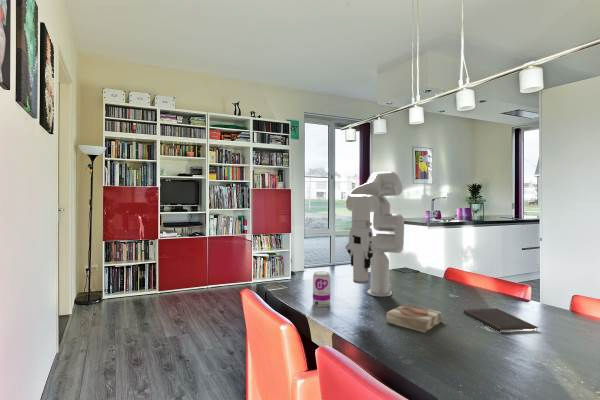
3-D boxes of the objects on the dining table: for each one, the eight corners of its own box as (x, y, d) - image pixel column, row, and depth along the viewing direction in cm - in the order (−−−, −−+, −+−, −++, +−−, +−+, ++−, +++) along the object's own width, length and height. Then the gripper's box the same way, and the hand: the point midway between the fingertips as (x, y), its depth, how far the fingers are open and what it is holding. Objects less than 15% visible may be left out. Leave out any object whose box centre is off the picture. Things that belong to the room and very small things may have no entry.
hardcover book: (496, 313, 159) (496, 308, 159) (537, 333, 137) (537, 327, 136) (463, 314, 157) (463, 309, 157) (499, 335, 134) (499, 329, 134)
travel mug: (351, 280, 155) (351, 234, 155) (366, 280, 155) (366, 234, 155) (353, 284, 149) (353, 236, 149) (369, 283, 149) (369, 235, 149)
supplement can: (329, 308, 164) (329, 275, 164) (311, 306, 165) (311, 274, 165) (331, 302, 172) (331, 271, 171) (314, 301, 173) (314, 270, 173)
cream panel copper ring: (404, 312, 157) (404, 303, 157) (441, 321, 146) (441, 311, 146) (386, 322, 145) (386, 311, 145) (424, 332, 135) (424, 321, 135)
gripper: (383, 225, 148) (383, 268, 148) (349, 222, 160) (349, 262, 161) (373, 226, 143) (372, 271, 143) (339, 223, 155) (338, 265, 155)
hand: (360, 266), depth 152 cm, fingers closed on travel mug, 6 cm apart
